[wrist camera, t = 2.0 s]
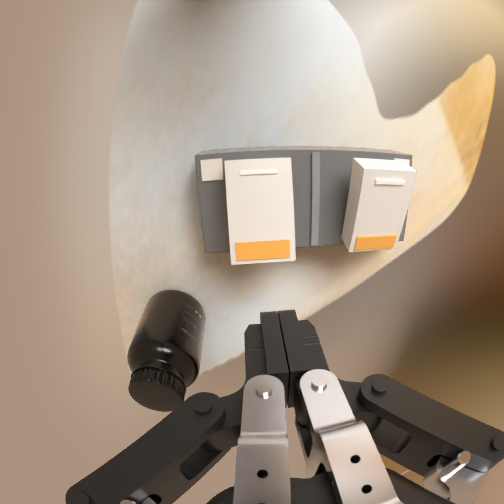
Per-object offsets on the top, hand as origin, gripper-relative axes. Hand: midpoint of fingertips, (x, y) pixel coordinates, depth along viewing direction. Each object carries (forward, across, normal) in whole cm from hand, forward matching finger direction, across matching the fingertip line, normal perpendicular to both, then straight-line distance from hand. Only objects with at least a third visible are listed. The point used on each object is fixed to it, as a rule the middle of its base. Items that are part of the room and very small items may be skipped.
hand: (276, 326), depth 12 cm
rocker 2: (+9, -9, -3) cm, 13 cm away
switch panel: (+15, -4, -3) cm, 16 cm away
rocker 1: (+9, 0, -3) cm, 9 cm away
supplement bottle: (+16, +10, +10) cm, 21 cm away
